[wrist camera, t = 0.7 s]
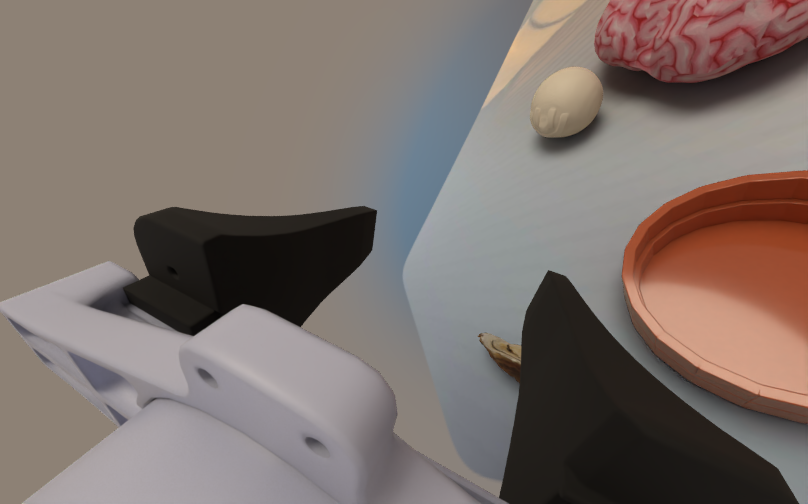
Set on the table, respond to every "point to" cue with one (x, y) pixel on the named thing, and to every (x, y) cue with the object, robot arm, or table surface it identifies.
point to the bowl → (729, 289)
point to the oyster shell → (503, 354)
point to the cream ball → (566, 102)
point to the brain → (697, 35)
